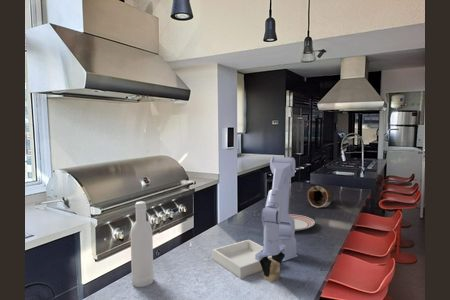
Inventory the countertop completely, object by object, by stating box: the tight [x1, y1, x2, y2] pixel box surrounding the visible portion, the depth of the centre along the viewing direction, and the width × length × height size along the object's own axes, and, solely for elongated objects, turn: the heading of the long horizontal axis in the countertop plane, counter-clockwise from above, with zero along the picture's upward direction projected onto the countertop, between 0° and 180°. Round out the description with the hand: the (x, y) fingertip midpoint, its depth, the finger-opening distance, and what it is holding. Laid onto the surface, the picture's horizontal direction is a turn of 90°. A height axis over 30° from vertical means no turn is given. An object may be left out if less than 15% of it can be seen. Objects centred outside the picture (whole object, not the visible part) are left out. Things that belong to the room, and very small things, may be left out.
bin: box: [211, 239, 272, 280], centre depth 127 cm, size 20×20×4 cm
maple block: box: [262, 259, 281, 283], centre depth 114 cm, size 4×4×6 cm
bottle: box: [129, 200, 155, 288], centre depth 110 cm, size 8×8×30 cm
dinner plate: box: [281, 213, 316, 232], centre depth 173 cm, size 28×27×3 cm
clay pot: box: [307, 185, 334, 209], centre depth 219 cm, size 15×15×25 cm
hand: (271, 273), depth 114 cm, fingers closed on maple block, 5 cm apart
